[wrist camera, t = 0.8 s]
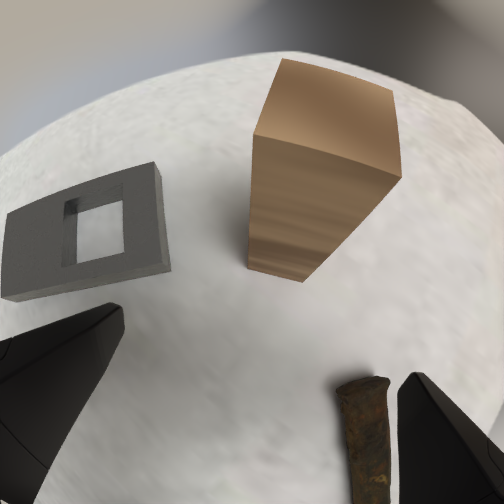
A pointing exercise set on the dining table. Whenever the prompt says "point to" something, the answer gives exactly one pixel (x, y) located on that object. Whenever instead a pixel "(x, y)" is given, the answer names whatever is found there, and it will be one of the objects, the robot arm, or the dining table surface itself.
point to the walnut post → (317, 166)
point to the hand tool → (368, 438)
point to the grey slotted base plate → (65, 233)
